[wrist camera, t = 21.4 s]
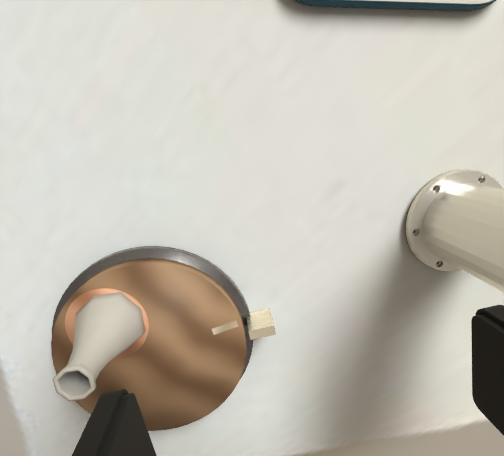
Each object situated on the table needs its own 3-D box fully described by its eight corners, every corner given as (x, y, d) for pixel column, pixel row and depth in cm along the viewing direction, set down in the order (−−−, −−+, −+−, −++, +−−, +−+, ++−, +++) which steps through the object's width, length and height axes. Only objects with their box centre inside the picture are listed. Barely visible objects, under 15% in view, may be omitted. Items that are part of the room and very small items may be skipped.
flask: (100, 359, 38) (59, 433, 28) (65, 308, 36) (7, 369, 26) (157, 333, 38) (135, 399, 28) (124, 280, 36) (89, 332, 26)
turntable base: (252, 222, 39) (255, 231, 35) (285, 389, 45) (291, 412, 42) (25, 270, 38) (3, 284, 34) (92, 433, 45) (80, 461, 41)
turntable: (134, 219, 36) (114, 237, 30) (281, 329, 41) (293, 365, 35) (22, 358, 39) (-19, 403, 33) (172, 444, 45) (163, 498, 38)
